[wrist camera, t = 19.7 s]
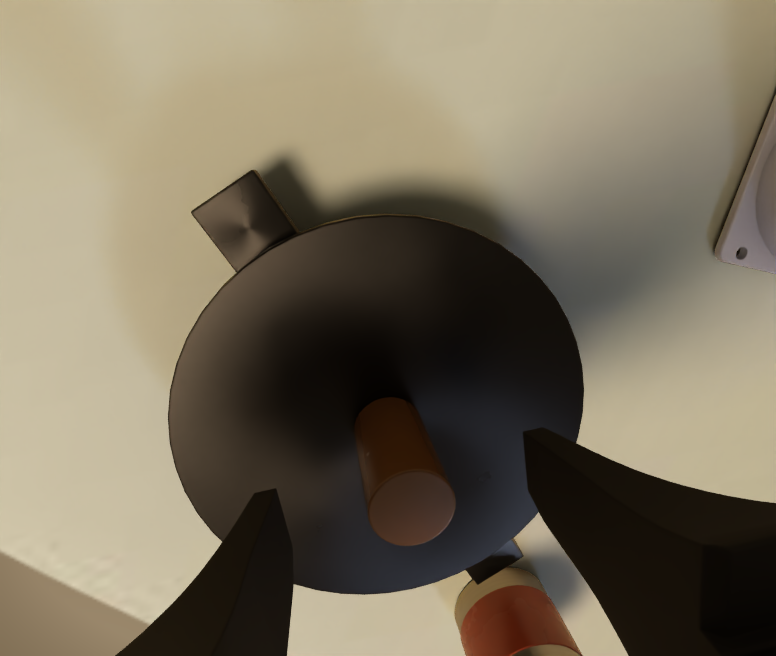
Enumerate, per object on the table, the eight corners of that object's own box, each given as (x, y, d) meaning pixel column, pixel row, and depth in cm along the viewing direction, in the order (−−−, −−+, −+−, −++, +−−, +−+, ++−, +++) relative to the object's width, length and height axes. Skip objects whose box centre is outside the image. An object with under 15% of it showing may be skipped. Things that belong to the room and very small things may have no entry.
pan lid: (424, 115, 16) (482, 88, 10) (633, 425, 20) (745, 514, 15) (80, 398, 17) (-25, 502, 12) (354, 631, 22) (367, 781, 16)
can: (556, 569, 26) (620, 672, 20) (529, 643, 27) (582, 758, 22) (467, 562, 25) (509, 669, 19) (443, 639, 26) (476, 759, 21)
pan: (390, 79, 18) (407, 60, 15) (601, 455, 24) (645, 497, 21) (80, 291, 18) (34, 317, 15) (364, 604, 25) (372, 667, 21)
